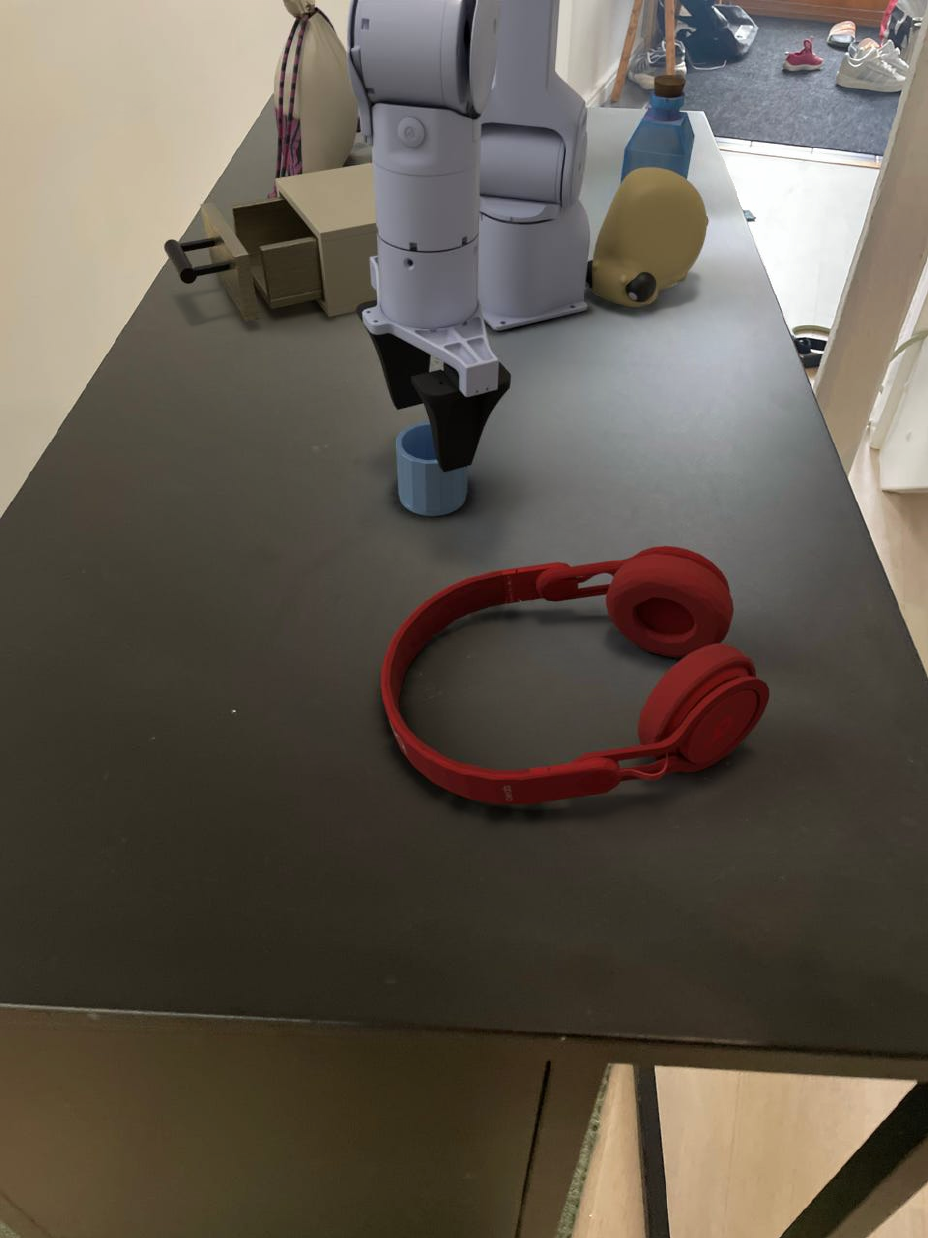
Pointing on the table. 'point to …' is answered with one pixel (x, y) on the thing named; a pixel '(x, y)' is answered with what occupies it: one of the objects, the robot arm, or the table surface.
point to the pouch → (313, 96)
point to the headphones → (648, 617)
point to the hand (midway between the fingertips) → (431, 433)
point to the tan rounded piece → (647, 237)
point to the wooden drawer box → (339, 230)
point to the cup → (426, 475)
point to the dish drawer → (256, 254)
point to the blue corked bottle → (662, 131)
